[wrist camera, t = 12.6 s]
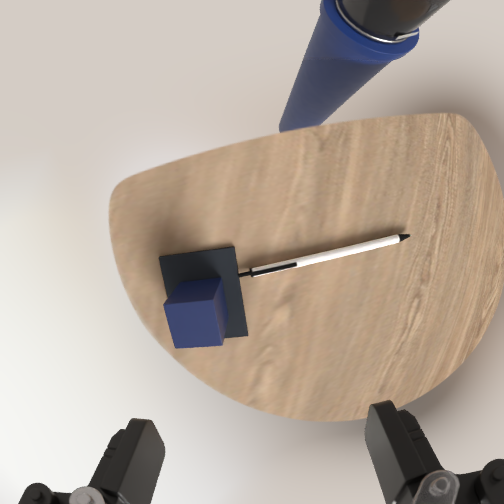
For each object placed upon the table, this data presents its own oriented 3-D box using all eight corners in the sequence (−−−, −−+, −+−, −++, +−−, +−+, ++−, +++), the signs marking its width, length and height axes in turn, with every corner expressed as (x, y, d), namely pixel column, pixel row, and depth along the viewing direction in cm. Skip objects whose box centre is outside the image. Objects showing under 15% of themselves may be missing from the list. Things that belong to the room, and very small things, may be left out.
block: (179, 282, 30) (162, 304, 24) (221, 277, 29) (213, 299, 24) (188, 320, 31) (175, 348, 25) (228, 316, 30) (222, 345, 25)
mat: (159, 256, 29) (158, 257, 29) (234, 246, 29) (234, 247, 29) (179, 339, 32) (178, 341, 31) (248, 334, 31) (248, 336, 31)
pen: (237, 270, 30) (237, 273, 28) (408, 230, 28) (413, 232, 27) (239, 278, 30) (239, 281, 29) (409, 238, 28) (414, 240, 27)
